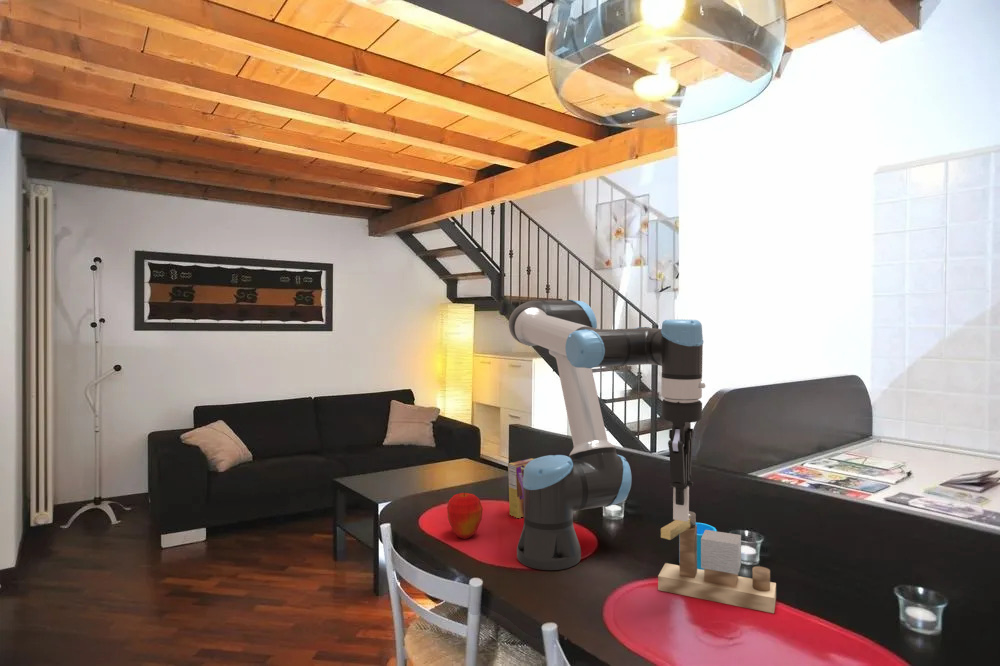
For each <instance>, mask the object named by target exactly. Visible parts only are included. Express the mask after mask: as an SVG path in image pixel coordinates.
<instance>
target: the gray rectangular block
mask: <svg viewBox="0 0 1000 666" xmlns="http://www.w3.org/2000/svg"><path fill="white" fill-rule="evenodd" d="M741 565H742V535H741V534H736V533H731V532H730V533H729V532H724V531H718V530H716V531H711V530H705V531H704V534H703V536H702V538H701V568H704V569H710V570H715V571H721V572H727V573H732V574H738V575H739V573H740V569H741Z"/></svg>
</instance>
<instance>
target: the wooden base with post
mask: <svg viewBox="0 0 1000 666" xmlns="http://www.w3.org/2000/svg"><path fill="white" fill-rule="evenodd" d="M678 537H679V538H678V542H679V543H678V547H679V548H678V550H679V549H680V563H679V565H678V564H673V563H668V562H664V565H663V567H662V568H661V570H660V572H659V574H658V575H657V590H658V591H660V592H661V591H662V592H666V593H672V594H676V595H681V596H686V597H691V598H695V599H700V600H705V601H711V602H716V603H719V604H720V603H721V604H726V605H730V606H735V607H740V608H745V609H750V610H755V611H759V612H765V613H769V614H775V611H776V610H775V609H776V601H777V583H776V582H772V581H771V569H770V568H768V567H766V566H765V567H764V566H761V565H760V566H757V565H756V566H753V567H752V568H751V569H752V571H751V572H752V578H751V577H745V576H739V573H738V574H732V573H727V572H721V571H715V570H710V569H704V570H701V569H697V525H696V526H695V527H690V528H689V529H687V530H685V531H684V532H682V533H681V534H679V535H678Z"/></svg>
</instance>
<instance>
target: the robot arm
mask: <svg viewBox="0 0 1000 666" xmlns="http://www.w3.org/2000/svg"><path fill="white" fill-rule="evenodd" d="M596 317H597V316H596V314H595V313H594V311H593V309H592V307H591V306H590V305H589V304H588V303H586V302H585V301H582V300H574V299H566V300H529V301H526V302H523V303H521V304H520V305H518V306H517V307H515V309H514V310H513V311H512V312H511V314H510V317H509V319H508V329H509V330H508V331H509V332H510V335H511V336H512V338H513V339H514V340H515V341H517V342H518V343H520V344H522V345H525V346H528V347H535V346H540V347H542V348H545V349H547V350H548V353H549V355H550V356H552V357H554V358H555V360H556V365H557V370H558V371H557V372H558V375H559V380H560V384H561V389H562V390H561V391H562V395H563V401H564V404H565V410H566V415H567V420H568V421H567V422H568V424H569V430H570V435H571V436H570V437H571V441H572V443H573V444H572V445H573V448H572V450H571V451H570V453H569V456H567V455H564V454H555V455H553V454H549V455H543V456H540V457H537V458H532V459H533V460H531V461H530V462H528V464H527V465H526V466H525V468H524V476H523V496H524V517H523V527H522V530H521V533H520V537H519V538H518V539H519V540H518V543H517V547H516V558H517V560H518V562H520V564H522V565H524V566H526V567H528V568H531V569H536V570H540V571H541V570H542V571H559V570H566V569H569V568H572V567H574V566H577V564H579V563H580V561H581V559H582V549H581V545H580V541H579V539H578V536H577V534H576V531H575V526H574V512H575V511H582V510H588V509H596V508H602V507H603V508H604V507H605V508H606V507H611V506H614V505H618V504H621V503H622V502H624V501H625V500H626V499H627V497H628V496H629V494H630V490H631V488H632V471H631V466H630V464H629V462H628V461H627V459H626V457H624V456H623V455H620V454H617V449H616V446H615V445H614V444H612V443H611V442H609V441H608V437H607V432H606V428H605V422H604V418H603V414H602V409H601V405H600V400H599V396H598V392H597V387H596V382H595V377H594V373H593V368H602V367H616V366H618V367H620V366H640V365H653V366H661V385H660V386H661V387H660V388H661V391H660V392H661V397H662V398H663V399H662V401H661V414H660V415H661V418H662V420H664V421H666V422H667V421H668V422H671V423H672V425H671V429H669V431H668V434H669V435H668V438H669V440H668V442H667V446H668V450H669V469H670V471H669V472H670V483H669V484H668V487H669V488H673V489H672V495H673V496H672V502H673V503H672V509H673V510H672V520H673V521H674V520H681V521H688V520H689V511H690V486H694V481H693V480H691V479H692V461H693V457H692V456H693V439H694V432H695V431H694V428H692V427H691V426H692V424H691V423H698V422H701V420H702V419H703V402H702V401H701V398H702V397H703V389H705V388H706V384H705V382H702V381H703V380H702V379H703V355H704V354H703V352H704V351H703V347H704V346H703V345H704V337H703V325H702V323H701V321H699V320H697V319H683V318H682V319H664V320H663V321H662V322H661V328H656V327H655V328H653V327H648V326H644V327H642V326H638V327H633V328H617V329H616V328H615V329H613V328H612V329H610V328H607V329H603V328H598V322H597V318H596Z"/></svg>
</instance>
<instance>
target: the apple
mask: <svg viewBox="0 0 1000 666" xmlns="http://www.w3.org/2000/svg"><path fill="white" fill-rule="evenodd" d="M446 509H447V511H446V512H447V519H448V523H449V525H450V527H451V530H452V532H453V533H454V534H456V536H457V537H458V538H461V539H465V540H466V539H469V538H471V537H472V536H473V535H475V534H476V533H477V531H478V530H479V527H480V525H481V522H482V519H483V511H484V510H483V505H482V503H481V500H480V498H479V497H478V496H477V495H475V494H474V493H469V492H465V490H464V491H463V492H459V493H456V494H454V495H453V496H452V497H451V498H449V500H448V502H447V505H446Z"/></svg>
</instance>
